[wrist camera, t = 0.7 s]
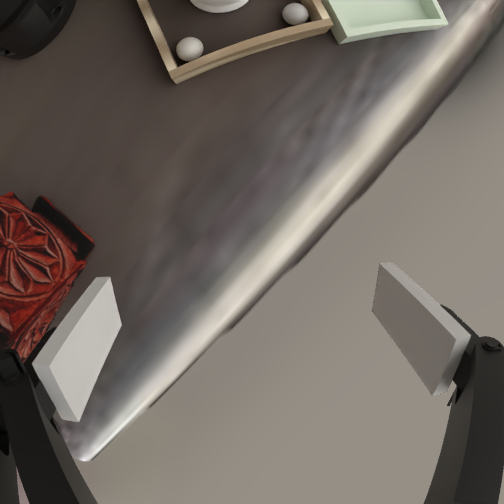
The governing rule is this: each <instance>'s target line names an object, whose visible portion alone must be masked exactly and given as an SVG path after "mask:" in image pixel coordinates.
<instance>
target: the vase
mask: <svg viewBox="0 0 504 504" xmlns="http://www.w3.org/2000/svg"><path fill="white" fill-rule="evenodd" d="M94 246H95V244H94V240H93V239H92V238H91V237H90V236H88V235H87V234H86V233H84V232H83V231H82V230H81V229H80V228H79V227H77V226H76V225H75V224H74V223H72V222H71V221H70V220H69V219H68V218H67V217H66V216H65V215H63V214H62V213H61V212H60V211H58V210H57V209H56V208H55V207H54V206H53V204H52V203H51V202H50V201H49V200H48V199H47V198H46V197H42V196H39V197H38V198H37V200H36V202H35V204H34V206H33V209H32V211H31V210H30V209H28V208H27V207H26V205H25V204H24V203H23V202H22V201H21V200H19V199H18V198H17V197H16V195H15V194H14V193H13V192H9V193H8V194H5V195H3V196H0V351H1V350H3V349H7V348H10V349H15V350H17V352H18V354H19V356H20V358H21V360H22V362H24V361H25V359H26V358H27V357H28V355H29V354H30V353H31V351H32V350H33V348H34V347H35V345H36V344H37V343H38V341H39V340H40V339H41V338H42V336H43V335H44V334H45V333H46V331H47V330H48V328H49V326H50V324H51V322H52V320H53V319H54V317H55V315H56V312H57V311H58V310H59V309H60V307H61V305H62V303H63V301H64V299H65V298H66V296H67V294H68V293H69V291H70V289H71V288H72V287H73V282H74V279H76V278H77V277H78V276H79V275H80V273H81V272H82V270H83V269H84V267H85V265H86V264H87V262H86V261H85V260H86V259H87V257H88V256H89V254H90V253H91V251H92V250H93V248H94Z"/></svg>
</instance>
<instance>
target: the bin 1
mask: <svg viewBox="0 0 504 504" xmlns="http://www.w3.org/2000/svg"><path fill="white" fill-rule="evenodd" d="M300 1H301V2H302V4H303V6H304V7H305V8H306V9H307V11H308V14H309V17H310V19H311V21H312V22H309V23H304V24H300V25H296V26H292V27H289V28H285V29H281V30H278V31H274V32H271V33H267V34H264V35H261V36H258V37H254V38H251V39H248V40H245V41H242V42H240V43H237V44H234V45H231V46H228V47H226V48H223V49H220V50H218V51H215V52H213V53H210V54H208V55H205V56H203V57H200V58H198V59H195V60H193V61H191V62H189V63H186V64H184V65H182V66H180V67H178V66H177V64H176V61H175V59H174V57H173V55H172V53H171V50H170V48H169V46H168V44H167V42H166V39H165V37H164V35H163V33H162V31H161V28H160V26H159V24H158V22H157V20H156V17H155V15H154V13H153V11H152V9H151V6H150V4H149V2H148V0H137V2H138V4H139V7H140V9H141V11H142V13H143V16H144V18H145V20H146V22H147V25H148V27H149V29H150V31H151V34H152V36H153V38H154V40H155V43H156V45H157V47H158V49H159V52H160V54H161V56H162V59H163V61H164V63H165V65H166V68H167V70H168V72H169V74H170V77H171V79H172V80H173V81H174V82H175V83H176V84H179V83H181V82H183V81H185V80H187V79H190V78H192V77H194V76H196V75H199V74H201V73H203V72H206V71H208V70H211V69H213V68H216V67H218V66H221V65H223V64H226V63H228V62H231V61H234V60H236V59H239V58H242V57H245V56H248V55H250V54H253V53H256V52H259V51H262V50H266V49H269V48H272V47H275V46H278V45H282V44H285V43H289V42H292V41H296V40H300V39H303V38H307V37H311V36H315V35H320V34H324V33H326V32H327V31H328V30H329V29H330V28H331V27H332V26H333V23H332V21H331V19H330V17H329V15H328V13H327V11H326V9H325V8H324V6H323V4H322V2H321V0H300Z"/></svg>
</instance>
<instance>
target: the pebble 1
mask: <svg viewBox="0 0 504 504" xmlns="http://www.w3.org/2000/svg"><path fill="white" fill-rule="evenodd" d="M176 52H177V55H178V57H179V58H180V59H182V60H184V61H193V60H195V59H198V58H199V57H200V56H201V55H202V53H203V44H202V42H201V41H200V40H199V39H197V38H195V37H187V38H184V39H182V40H181V41H180V42H179V43H178V45H177V48H176Z"/></svg>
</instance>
